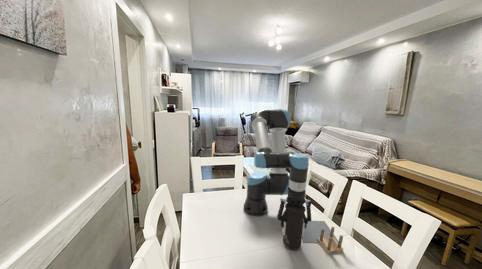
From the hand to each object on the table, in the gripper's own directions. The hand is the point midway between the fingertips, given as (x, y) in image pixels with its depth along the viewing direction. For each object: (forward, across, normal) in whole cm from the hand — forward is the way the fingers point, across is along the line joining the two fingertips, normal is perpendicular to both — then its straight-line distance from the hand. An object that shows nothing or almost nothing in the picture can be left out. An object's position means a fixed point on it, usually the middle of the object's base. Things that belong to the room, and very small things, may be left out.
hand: (292, 233), depth 91 cm
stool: (+6, +18, 0) cm, 19 cm away
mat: (+7, +15, +10) cm, 20 cm away
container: (+6, 0, 0) cm, 6 cm away
